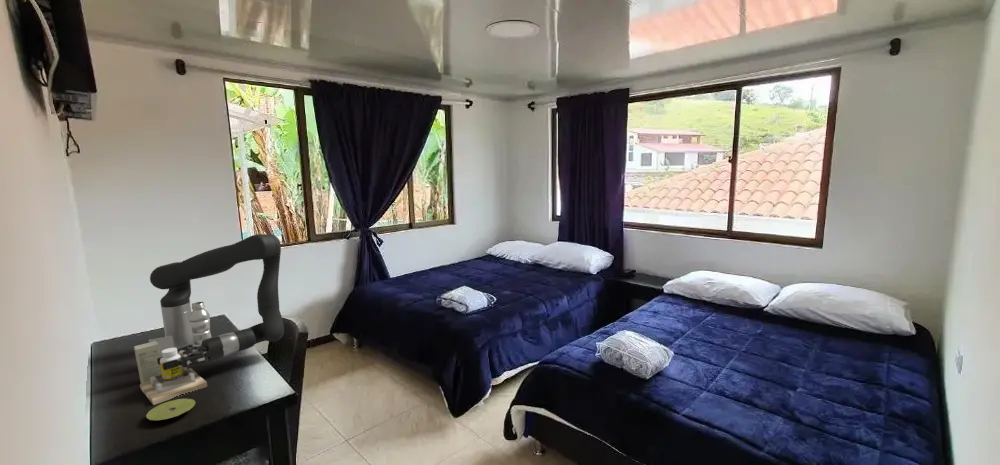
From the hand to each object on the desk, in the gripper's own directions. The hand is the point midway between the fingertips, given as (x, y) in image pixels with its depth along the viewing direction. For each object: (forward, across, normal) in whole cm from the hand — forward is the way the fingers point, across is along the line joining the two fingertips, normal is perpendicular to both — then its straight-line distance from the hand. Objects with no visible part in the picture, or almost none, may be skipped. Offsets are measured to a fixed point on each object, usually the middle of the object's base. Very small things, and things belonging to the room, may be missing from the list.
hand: (160, 364), depth 138 cm
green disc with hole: (+3, +19, +9) cm, 21 cm away
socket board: (-2, 0, +9) cm, 9 cm away
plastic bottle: (-17, -22, +9) cm, 30 cm away
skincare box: (+1, -13, +9) cm, 16 cm away
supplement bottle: (-3, 0, +6) cm, 7 cm away
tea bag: (-5, -24, +9) cm, 26 cm away
